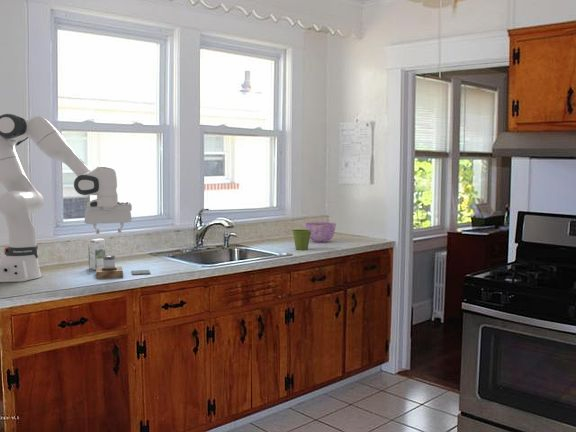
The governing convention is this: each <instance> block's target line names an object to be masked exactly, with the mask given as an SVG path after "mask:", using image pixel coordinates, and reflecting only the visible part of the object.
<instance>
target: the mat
mask: <svg viewBox="0 0 576 432" xmlns="http://www.w3.org/2000/svg"><path fill="white" fill-rule="evenodd" d="M131 275H132V276H140V275H141V276H142V275H151V271H150V270H149V269H140V270H139V269H138V270H131Z"/></svg>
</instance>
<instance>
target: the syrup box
mask: <svg viewBox="0 0 576 432" xmlns="http://www.w3.org/2000/svg"><path fill="white" fill-rule="evenodd" d="M105 255H106V239H104V238H102V237H101V238H99V237H97V238H91V239H88V270H95V271H96V268H101V267H103V258H102V256H105Z"/></svg>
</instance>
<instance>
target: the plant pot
mask: <svg viewBox="0 0 576 432" xmlns="http://www.w3.org/2000/svg"><path fill="white" fill-rule="evenodd" d="M291 232H292V234H293V240H294V246H295V247H294V248H295V250H299V251H306V250H308V249H309V246H310V245H309V244H310V240H311V239H310V235H311V232H312V230H307V229H306V228H304V229H303V228H302V229H300V228H299V229H292V230H291Z"/></svg>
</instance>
